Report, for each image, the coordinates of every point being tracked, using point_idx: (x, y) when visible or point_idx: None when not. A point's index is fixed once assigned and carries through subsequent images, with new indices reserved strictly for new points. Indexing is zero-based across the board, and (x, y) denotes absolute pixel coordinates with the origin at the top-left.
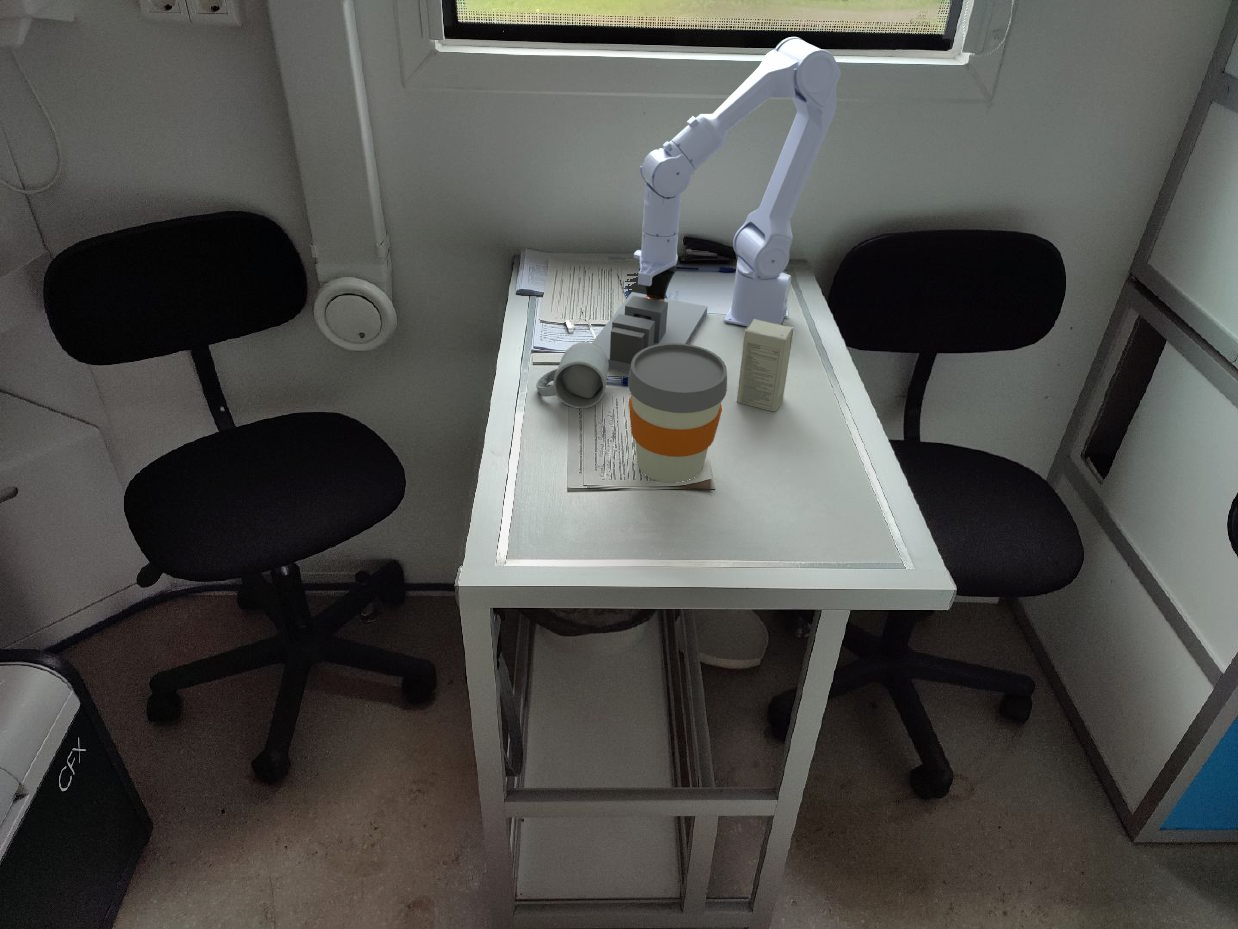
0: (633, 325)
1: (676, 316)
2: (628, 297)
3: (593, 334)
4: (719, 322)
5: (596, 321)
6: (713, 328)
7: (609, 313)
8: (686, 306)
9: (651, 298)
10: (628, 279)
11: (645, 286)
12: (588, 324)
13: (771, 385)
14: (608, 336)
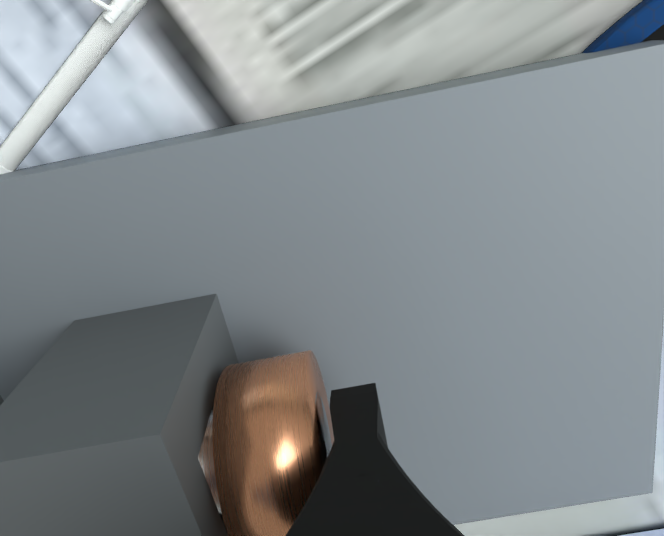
0: None
1: (467, 428)
2: (577, 69)
3: (43, 100)
4: (570, 523)
5: (218, 2)
6: (503, 526)
7: (374, 17)
8: (607, 419)
9: (250, 530)
10: None
11: (300, 513)
12: None
13: None
14: (3, 251)
